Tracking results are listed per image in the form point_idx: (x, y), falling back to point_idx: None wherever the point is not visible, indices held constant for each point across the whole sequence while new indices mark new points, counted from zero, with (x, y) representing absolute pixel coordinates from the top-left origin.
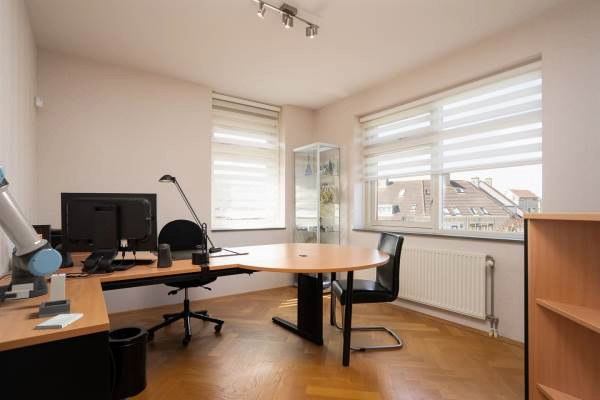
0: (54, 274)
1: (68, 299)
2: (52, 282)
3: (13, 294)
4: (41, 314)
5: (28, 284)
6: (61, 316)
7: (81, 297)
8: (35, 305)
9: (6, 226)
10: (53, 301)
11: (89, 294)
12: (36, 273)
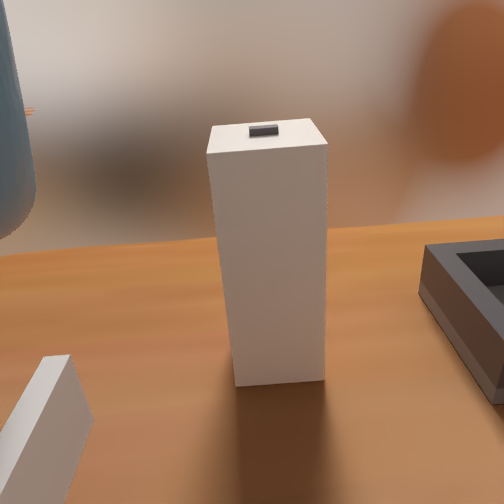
0: (211, 147)
1: (440, 249)
2: (326, 201)
3: None
4: None
5: (50, 399)
6: None
7: (173, 281)
8: (229, 480)
9: None
10: (484, 294)
11: (125, 263)
12: (21, 211)
